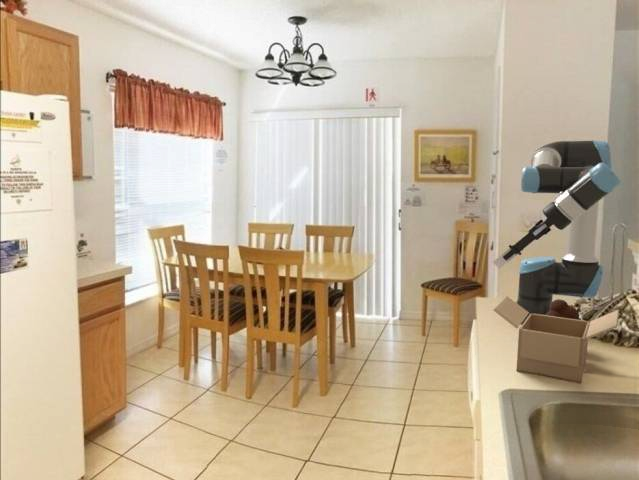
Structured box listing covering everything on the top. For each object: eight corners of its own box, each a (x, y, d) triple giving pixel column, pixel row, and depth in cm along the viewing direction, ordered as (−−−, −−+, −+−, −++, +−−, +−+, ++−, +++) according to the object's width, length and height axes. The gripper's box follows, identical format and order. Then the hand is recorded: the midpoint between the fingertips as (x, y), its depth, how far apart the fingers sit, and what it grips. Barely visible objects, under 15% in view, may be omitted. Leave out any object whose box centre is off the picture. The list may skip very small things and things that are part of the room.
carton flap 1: (529, 312, 162) (528, 313, 162) (507, 296, 164) (506, 297, 164) (518, 327, 146) (517, 328, 147) (494, 308, 149) (493, 310, 149)
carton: (528, 351, 164) (530, 313, 162) (586, 361, 156) (589, 321, 154) (515, 371, 147) (518, 329, 146) (580, 384, 139) (584, 339, 138)
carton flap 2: (618, 309, 150) (619, 311, 149) (590, 321, 153) (591, 322, 153) (616, 325, 134) (617, 327, 134) (585, 337, 138) (586, 339, 138)
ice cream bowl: (542, 351, 164) (546, 303, 162) (541, 340, 175) (544, 295, 173) (581, 355, 161) (584, 306, 159) (577, 344, 171) (580, 298, 169)
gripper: (556, 199, 152) (492, 252, 163) (550, 202, 141) (482, 258, 152) (575, 219, 150) (509, 271, 161) (570, 223, 139) (500, 279, 150)
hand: (496, 265), depth 156 cm, fingers closed
